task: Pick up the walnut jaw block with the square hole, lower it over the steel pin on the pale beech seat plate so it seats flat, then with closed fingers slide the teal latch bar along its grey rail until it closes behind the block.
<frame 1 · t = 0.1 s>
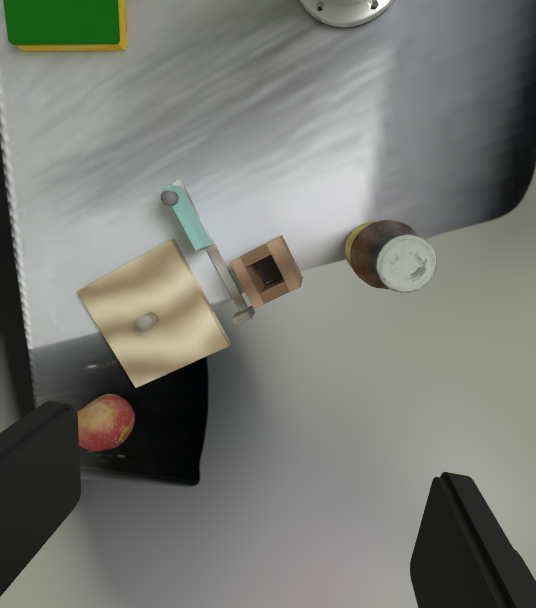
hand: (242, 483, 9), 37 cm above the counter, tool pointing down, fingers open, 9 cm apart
seat: (155, 316, 49), on the counter
jaw block: (271, 266, 45), on the counter
fruit: (121, 405, 54), on the counter
latch bar: (186, 217, 42), point 3 cm above the counter, slide at 0.0 cm
dish sponge: (74, 18, 42), on the counter
sauce bottle: (368, 245, 43), on the counter
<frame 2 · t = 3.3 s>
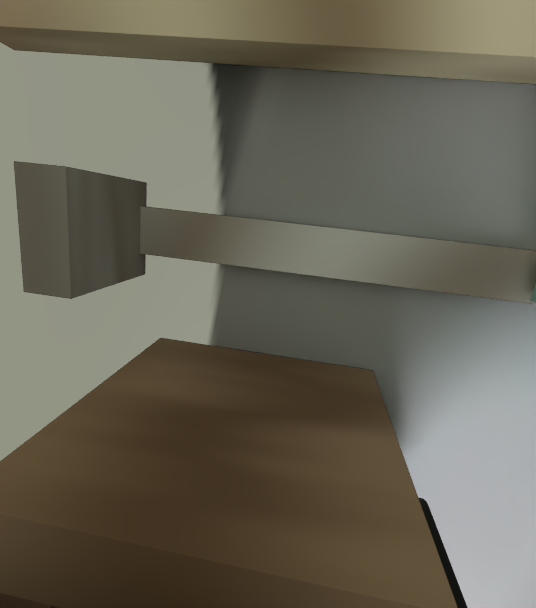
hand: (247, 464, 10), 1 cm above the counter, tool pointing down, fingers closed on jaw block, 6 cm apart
jaw block: (253, 445, 10), on the counter, touching gripper
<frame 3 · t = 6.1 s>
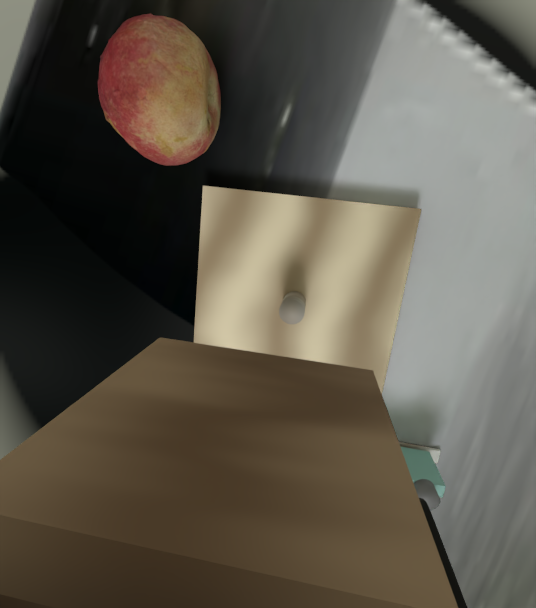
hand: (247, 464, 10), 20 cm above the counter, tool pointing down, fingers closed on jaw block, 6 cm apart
seat: (295, 298, 29), on the counter
jaw block: (252, 445, 10), point 19 cm above the counter, touching gripper
fruit: (187, 116, 27), on the counter
latch bar: (385, 468, 28), point 3 cm above the counter, slide at 0.0 cm
when the fingers open (2 cm above the counter, at t = 8.9 s): jaw block stays where it is, resting on seat.
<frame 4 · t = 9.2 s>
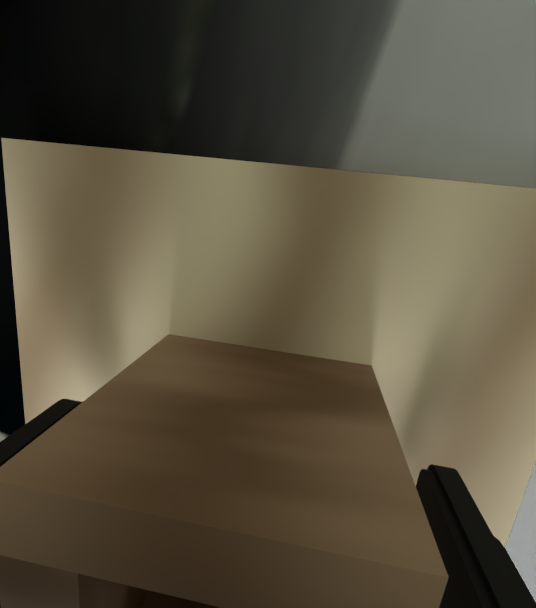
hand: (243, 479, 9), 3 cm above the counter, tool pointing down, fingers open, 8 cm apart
seat: (261, 415, 12), on the counter
jaw block: (256, 438, 11), point 1 cm above the counter, touching seat
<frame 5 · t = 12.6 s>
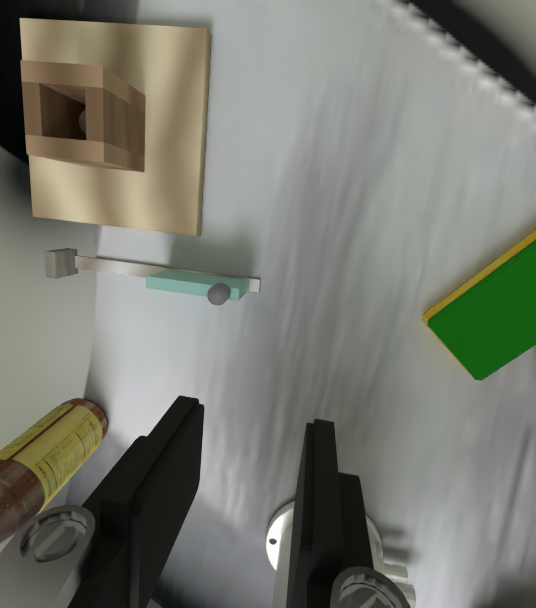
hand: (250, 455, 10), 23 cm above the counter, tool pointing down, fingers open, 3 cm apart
seat: (119, 134, 31), on the counter
jaw block: (112, 132, 30), point 1 cm above the counter, touching seat
latch bar: (197, 285, 30), point 3 cm above the counter, slide at 0.0 cm
dish sponge: (509, 294, 30), on the counter
sauce bottle: (88, 419, 39), on the counter
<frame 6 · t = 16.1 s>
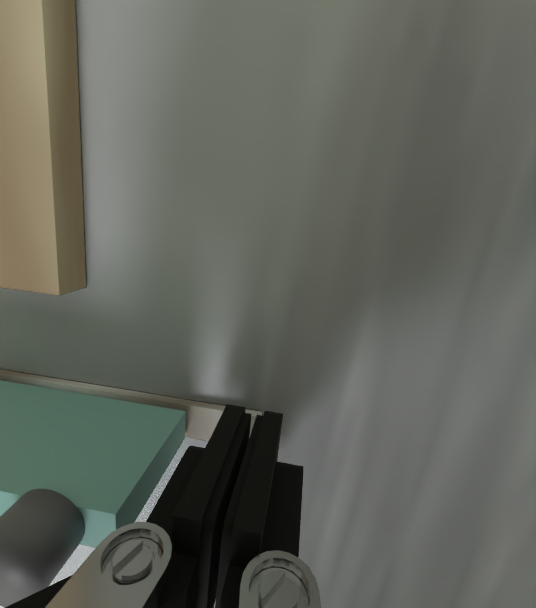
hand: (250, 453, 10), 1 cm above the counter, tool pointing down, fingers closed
latch bar: (2, 456, 9), point 3 cm above the counter, slide at 1.4 cm, touching gripper
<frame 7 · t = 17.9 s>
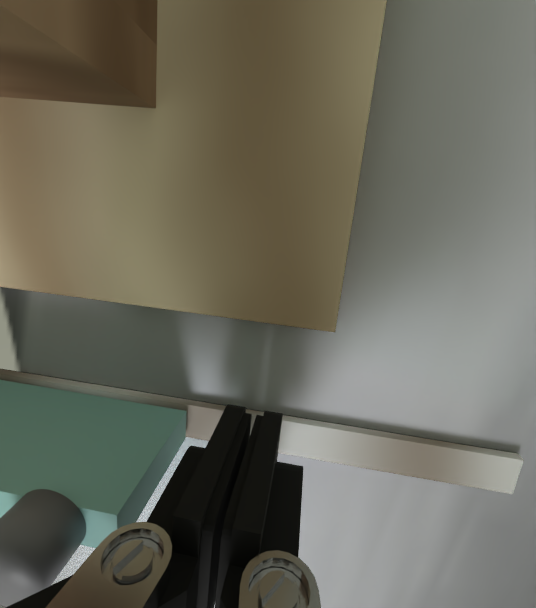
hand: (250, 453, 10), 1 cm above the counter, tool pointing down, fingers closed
latch bar: (3, 456, 9), point 3 cm above the counter, slide at 9.1 cm, touching gripper
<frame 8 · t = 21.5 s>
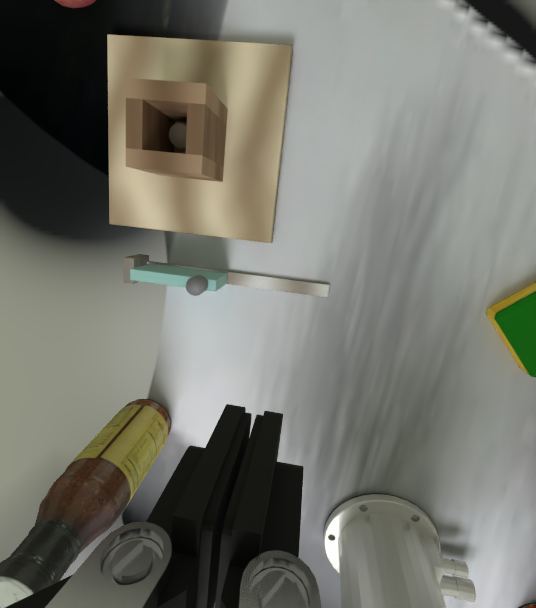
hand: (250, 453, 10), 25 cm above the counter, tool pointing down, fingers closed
seat: (196, 145, 32), on the counter
jaw block: (192, 143, 31), point 1 cm above the counter, touching seat
latch bar: (178, 277, 32), point 3 cm above the counter, slide at 9.0 cm
sauce bottle: (150, 419, 41), on the counter
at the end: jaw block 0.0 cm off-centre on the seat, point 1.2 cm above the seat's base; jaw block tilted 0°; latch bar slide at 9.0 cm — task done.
